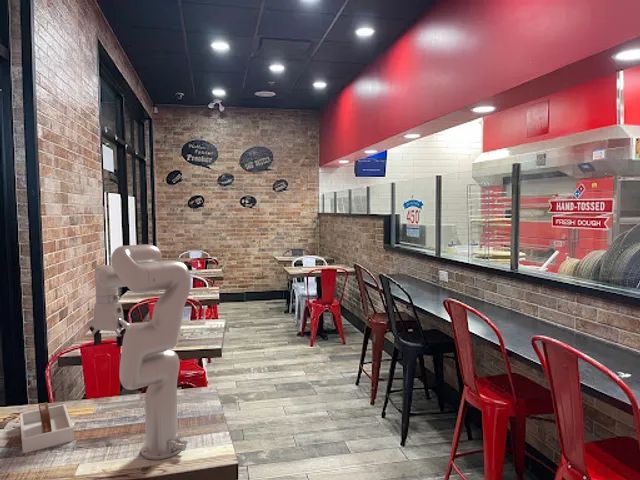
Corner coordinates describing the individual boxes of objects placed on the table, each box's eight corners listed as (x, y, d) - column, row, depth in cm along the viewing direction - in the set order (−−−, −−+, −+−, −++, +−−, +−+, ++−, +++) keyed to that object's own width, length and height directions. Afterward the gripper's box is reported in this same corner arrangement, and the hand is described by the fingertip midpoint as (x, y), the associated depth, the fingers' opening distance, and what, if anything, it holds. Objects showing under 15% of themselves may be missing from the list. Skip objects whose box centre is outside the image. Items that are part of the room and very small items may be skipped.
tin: (53, 438, 152) (51, 413, 151) (41, 441, 150) (40, 416, 149) (49, 421, 164) (48, 398, 164) (39, 423, 162) (37, 400, 162)
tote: (20, 426, 162) (19, 413, 162) (65, 415, 170) (65, 403, 170) (22, 453, 144) (22, 439, 144) (73, 440, 152) (73, 427, 152)
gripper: (134, 298, 171) (136, 344, 172) (94, 296, 176) (96, 341, 177) (120, 302, 164) (122, 350, 165) (79, 300, 168) (81, 346, 169)
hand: (109, 345), depth 171 cm, fingers open, 9 cm apart
